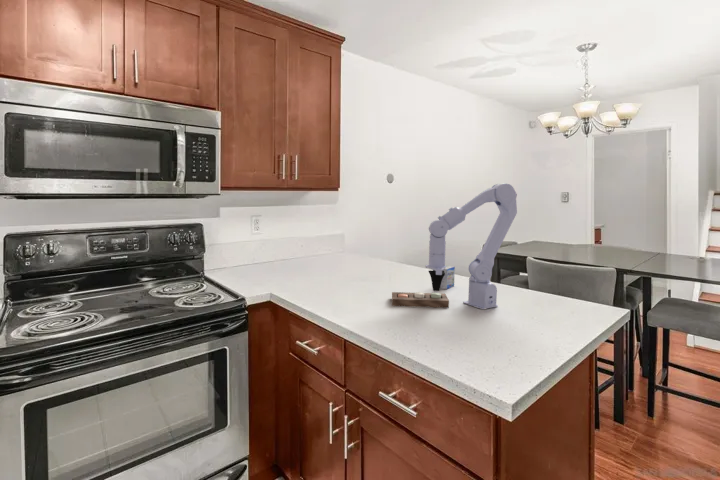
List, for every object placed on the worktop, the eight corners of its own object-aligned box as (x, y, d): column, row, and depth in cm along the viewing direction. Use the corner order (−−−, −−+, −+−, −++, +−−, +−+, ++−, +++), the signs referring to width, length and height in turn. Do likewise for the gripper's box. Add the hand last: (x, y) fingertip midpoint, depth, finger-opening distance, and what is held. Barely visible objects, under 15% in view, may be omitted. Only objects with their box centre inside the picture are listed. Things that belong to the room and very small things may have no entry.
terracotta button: (407, 300, 147) (407, 294, 146) (407, 303, 143) (408, 296, 143) (397, 300, 147) (397, 293, 147) (397, 302, 143) (398, 296, 143)
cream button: (423, 299, 146) (424, 292, 146) (424, 301, 142) (424, 294, 142) (414, 298, 146) (414, 292, 146) (414, 301, 143) (414, 294, 142)
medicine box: (446, 289, 165) (447, 269, 164) (436, 288, 167) (437, 268, 166) (454, 286, 171) (455, 266, 170) (444, 284, 174) (445, 265, 173)
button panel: (445, 300, 149) (445, 293, 148) (448, 307, 139) (448, 300, 138) (391, 298, 150) (392, 292, 150) (391, 306, 140) (391, 299, 140)
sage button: (440, 299, 145) (440, 292, 145) (441, 302, 142) (441, 295, 142) (430, 299, 146) (430, 292, 145) (431, 301, 142) (431, 295, 142)
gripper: (424, 250, 149) (423, 285, 151) (427, 256, 135) (426, 295, 137) (443, 250, 149) (442, 286, 150) (448, 257, 134) (447, 295, 136)
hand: (436, 290), depth 143 cm, fingers closed
